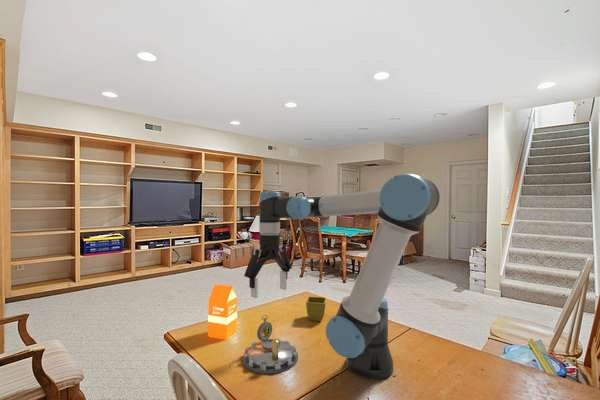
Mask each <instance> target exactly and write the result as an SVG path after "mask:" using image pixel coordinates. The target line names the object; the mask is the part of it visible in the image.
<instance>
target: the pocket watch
mask: <svg viewBox="0 0 600 400" xmlns="http://www.w3.org/2000/svg"><path fill="white" fill-rule="evenodd" d="M265 316H266V317H265ZM267 319H268V315H267V314H265V315H263V316H262V317H261V320H262V321H263V322H262V323H261V324H259V326H258V328H257V332H256V336H257V339H258V340H259V341H263V342H262V347H263V348H264V349H268V350H272V340H274V339H275V338H270V337H271V335H272V332H273V325H272V323H271V322H270V321H267ZM280 341H281V340H280ZM280 341H279V346H280Z"/></svg>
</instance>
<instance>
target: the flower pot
mask: <svg viewBox="0 0 600 400" xmlns="http://www.w3.org/2000/svg"><path fill="white" fill-rule="evenodd" d="M326 303H327V298H326V296H322V297H321V296H307V298H306V301H305V304H306V306H305V307H306V314H307V316H308V319H309V320H310V321H315V322H322V320H323V319H324V316H325V311H326Z"/></svg>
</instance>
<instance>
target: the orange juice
mask: <svg viewBox="0 0 600 400" xmlns="http://www.w3.org/2000/svg"><path fill="white" fill-rule="evenodd" d="M207 305H208V308H207V311H208V312H207V313H208V315H207V337H208V336H209V338H214V339H221V340H226V341H227V340H229V339H230V338H231V337H232V336H233V335H235V334H236V333H237V330H238V328H237V327H238V326H237V325H238V296H237V294H236V291H235V289H234V287H233V285H226V284H225V285H223V284H215V283H214V285H213V287H212V290H211V293H210V295H209V299H208V304H207Z"/></svg>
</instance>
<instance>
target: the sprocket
mask: <svg viewBox="0 0 600 400" xmlns="http://www.w3.org/2000/svg"><path fill="white" fill-rule="evenodd" d="M273 339H274V340H272V350H268V349H264V348H263V347H262V342H263V341H261V340H259V341H258V342H257V341H253V342H252V343H251V345H250V347H248V346H246V347H245V349H244V354H243V356H244V360H245V361H249V366H251V367H252V368H253V367H254V366H256V367H259V368H260V370H266V369H271V368H274V369H275V370H278V369H280V368H281V367H282V366H284V365H287V366H289V365H290V364H292V359H296V357H297V354H298V352H297V347H296V346H295V345H292V344H290V343H291V341H288V340H284V341H283V340H280V339H279V338H273ZM279 341H280V346H279Z"/></svg>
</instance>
